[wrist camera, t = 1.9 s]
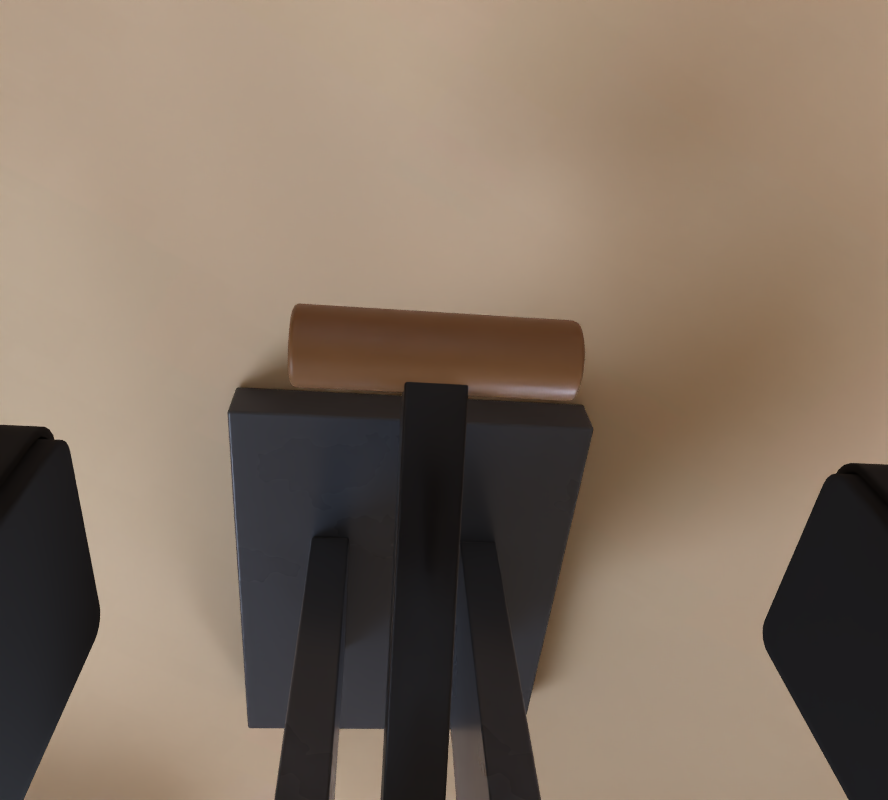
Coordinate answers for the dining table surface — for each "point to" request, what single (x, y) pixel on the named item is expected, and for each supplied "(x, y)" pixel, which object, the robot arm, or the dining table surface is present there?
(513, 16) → the dining table surface
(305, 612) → the bracket
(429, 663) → the lever
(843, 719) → the robot arm
